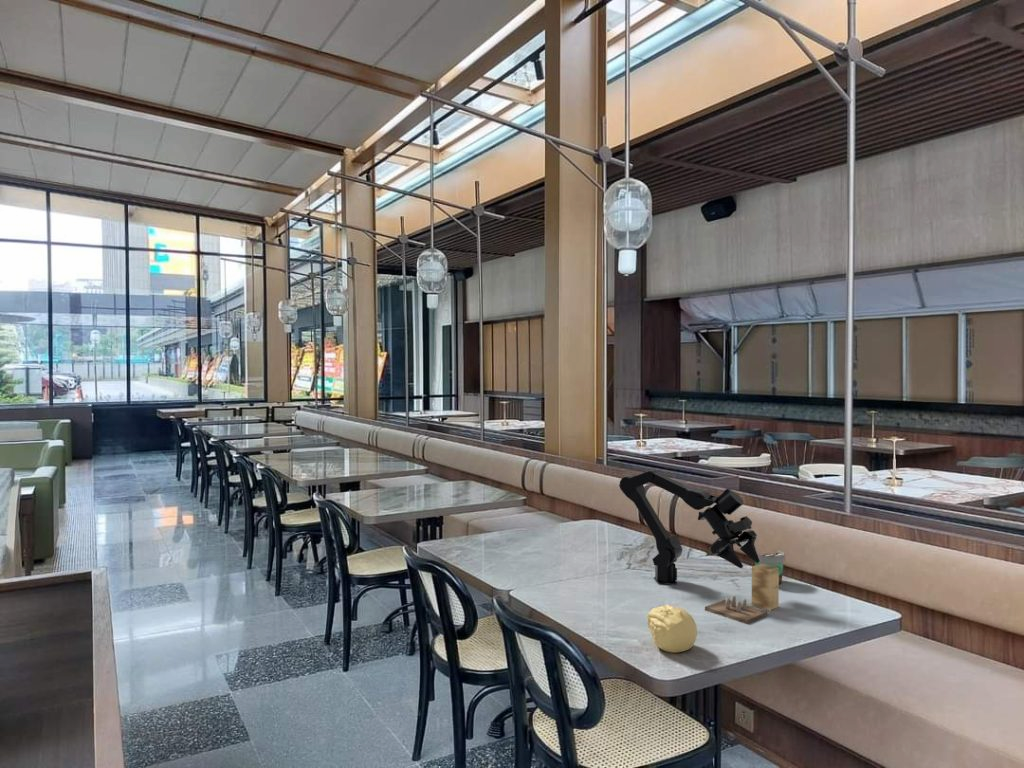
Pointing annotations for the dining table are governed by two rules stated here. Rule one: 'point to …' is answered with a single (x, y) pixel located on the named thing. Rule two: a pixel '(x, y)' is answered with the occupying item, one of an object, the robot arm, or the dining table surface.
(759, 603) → the oak block
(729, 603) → the peg base
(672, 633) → the sculpture
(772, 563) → the food container
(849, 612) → the dining table surface
